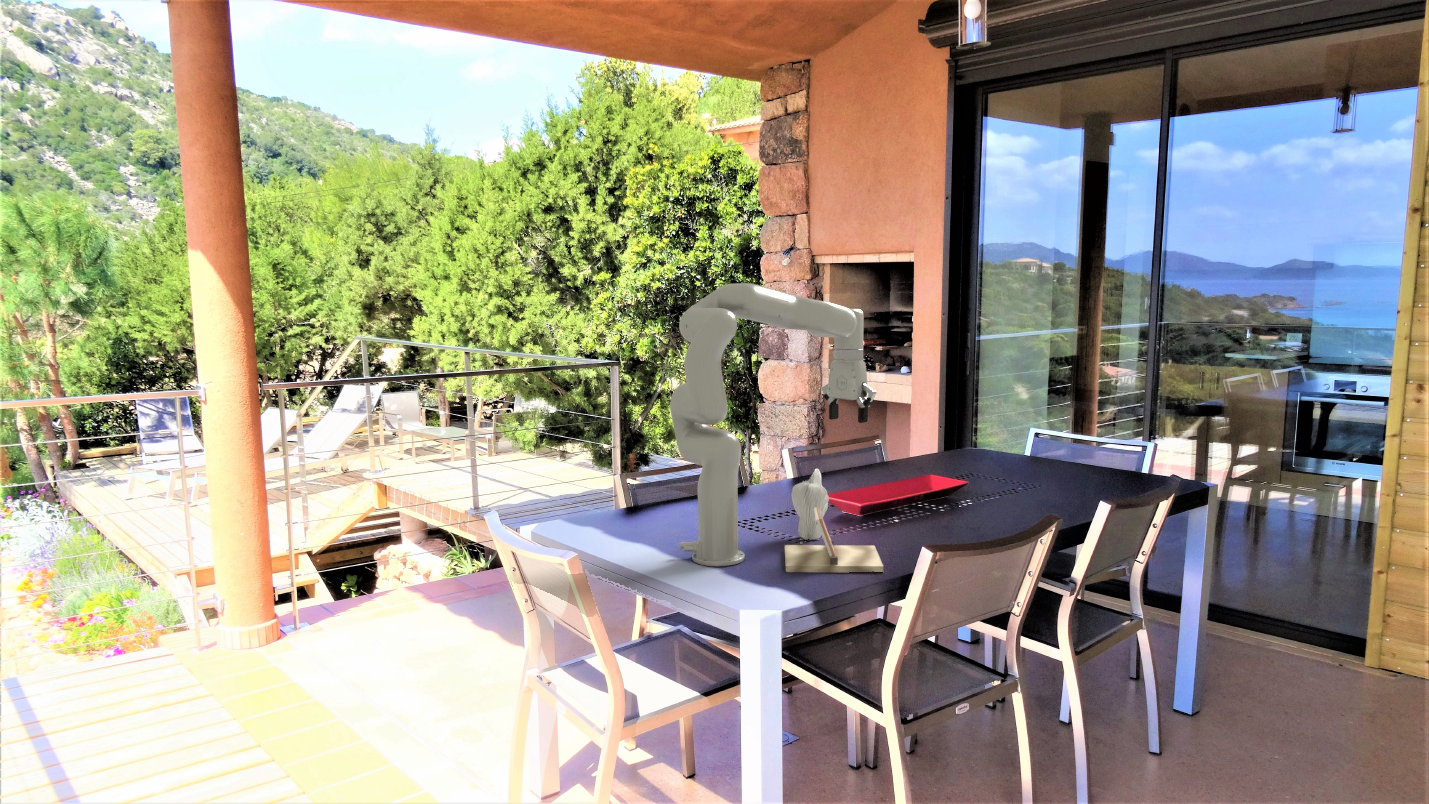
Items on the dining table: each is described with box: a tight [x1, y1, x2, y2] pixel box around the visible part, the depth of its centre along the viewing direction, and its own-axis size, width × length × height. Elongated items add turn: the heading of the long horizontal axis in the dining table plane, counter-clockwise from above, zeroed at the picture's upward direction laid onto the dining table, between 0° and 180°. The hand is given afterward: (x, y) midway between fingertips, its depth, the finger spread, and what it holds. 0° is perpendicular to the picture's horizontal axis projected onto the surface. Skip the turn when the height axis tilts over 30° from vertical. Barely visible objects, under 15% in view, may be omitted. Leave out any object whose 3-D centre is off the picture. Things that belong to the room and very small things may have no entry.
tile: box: [814, 506, 835, 556], centre depth 204 cm, size 10×12×1 cm
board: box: [784, 539, 884, 573], centre depth 204 cm, size 22×17×3 cm
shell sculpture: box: [790, 468, 830, 541], centre depth 224 cm, size 8×8×18 cm
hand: (848, 420), depth 228 cm, fingers open, 9 cm apart
